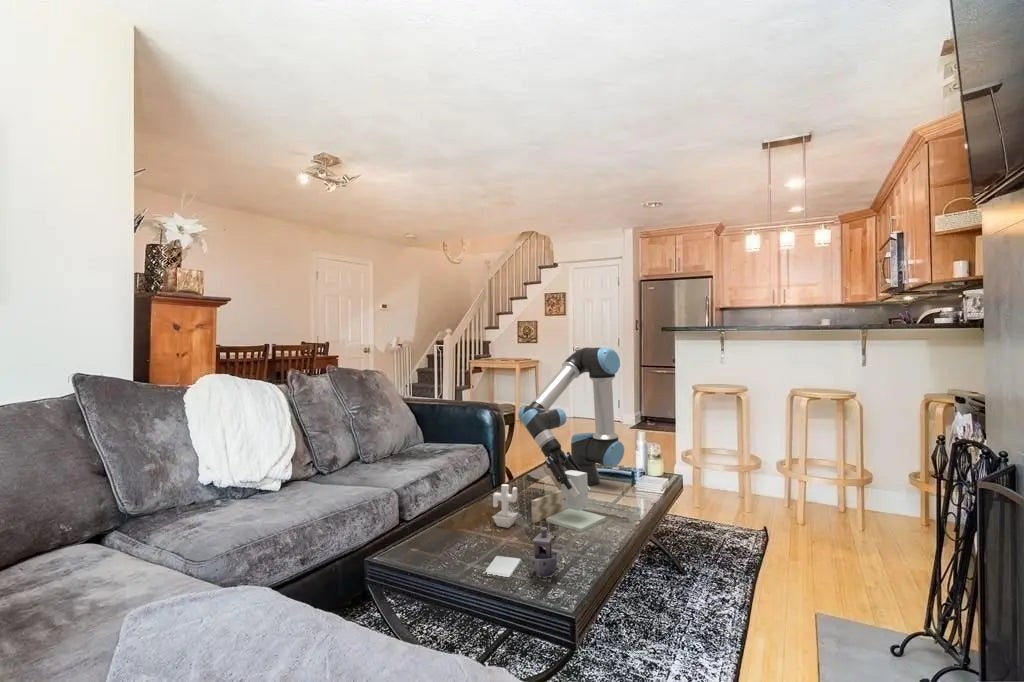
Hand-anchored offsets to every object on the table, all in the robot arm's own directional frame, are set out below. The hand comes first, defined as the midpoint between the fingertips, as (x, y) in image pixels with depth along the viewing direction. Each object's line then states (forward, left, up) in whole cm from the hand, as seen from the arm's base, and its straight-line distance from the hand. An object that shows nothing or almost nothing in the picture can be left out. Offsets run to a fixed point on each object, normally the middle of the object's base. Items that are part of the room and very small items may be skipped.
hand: (582, 493), depth 189 cm
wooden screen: (-1, -14, -11) cm, 18 cm away
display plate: (-1, -3, -11) cm, 12 cm away
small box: (0, -3, -6) cm, 7 cm away
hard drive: (+47, +4, -12) cm, 48 cm away
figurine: (+20, -20, -11) cm, 31 cm away
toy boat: (+41, +16, -11) cm, 46 cm away
